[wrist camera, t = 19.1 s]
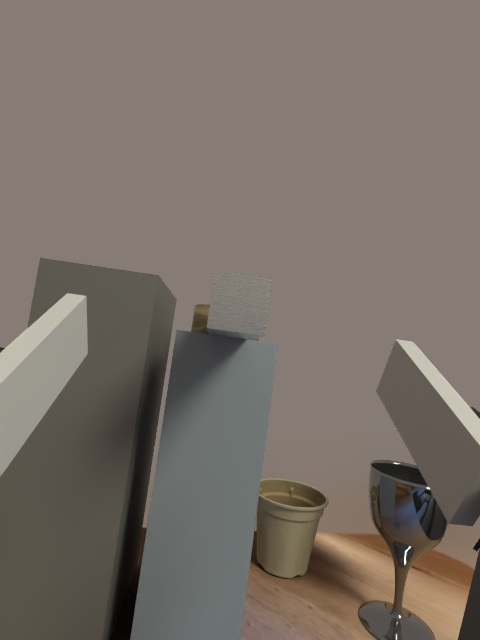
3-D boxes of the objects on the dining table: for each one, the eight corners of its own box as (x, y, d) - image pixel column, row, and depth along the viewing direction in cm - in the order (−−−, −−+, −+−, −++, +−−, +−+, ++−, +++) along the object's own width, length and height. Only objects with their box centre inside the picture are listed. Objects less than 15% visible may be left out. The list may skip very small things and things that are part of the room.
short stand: (122, 688, 27) (176, 329, 29) (154, 565, 42) (188, 335, 44) (233, 696, 27) (278, 343, 29) (225, 572, 42) (255, 344, 44)
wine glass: (344, 625, 36) (361, 468, 38) (365, 588, 43) (379, 455, 44) (435, 674, 32) (452, 494, 33) (444, 624, 39) (457, 476, 40)
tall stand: (-36, 676, 26) (40, 257, 28) (54, 556, 41) (99, 288, 43) (94, 686, 27) (158, 275, 29) (136, 564, 42) (176, 299, 44)
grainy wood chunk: (167, 322, 19) (176, 264, 19) (192, 335, 42) (196, 309, 42) (302, 341, 19) (309, 284, 20) (254, 344, 42) (257, 317, 42)
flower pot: (237, 541, 50) (246, 474, 50) (305, 545, 51) (313, 480, 52) (250, 586, 40) (260, 504, 41) (332, 590, 42) (341, 511, 42)
